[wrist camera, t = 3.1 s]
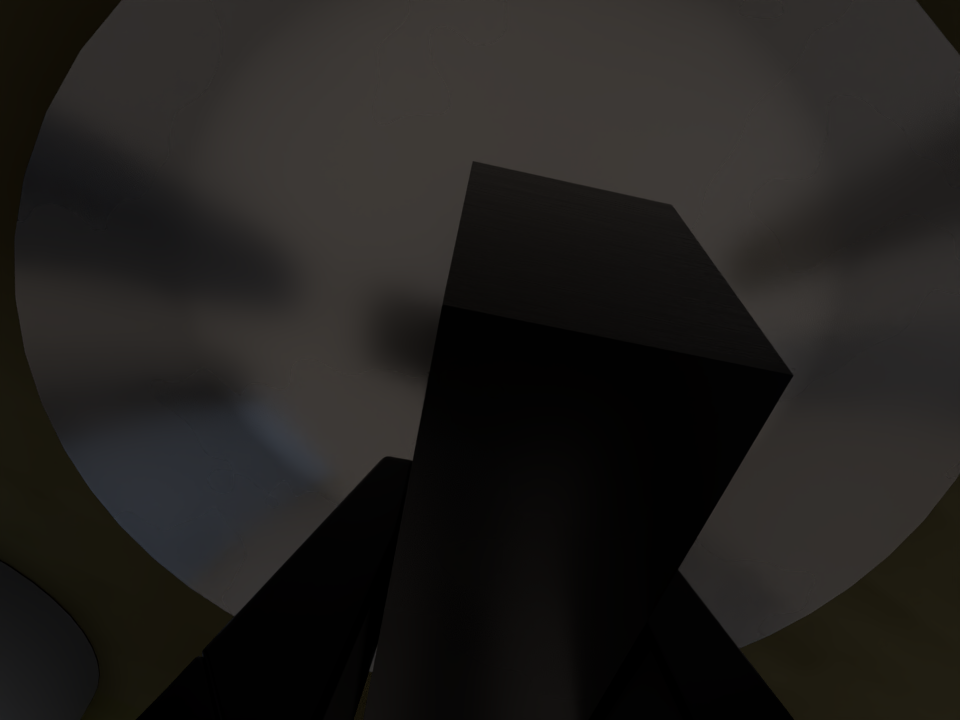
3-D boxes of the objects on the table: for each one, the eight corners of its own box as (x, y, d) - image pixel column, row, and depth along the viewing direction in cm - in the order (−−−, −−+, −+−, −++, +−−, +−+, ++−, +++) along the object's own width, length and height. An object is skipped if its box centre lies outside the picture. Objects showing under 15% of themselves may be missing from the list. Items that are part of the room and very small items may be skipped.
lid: (721, 679, 14) (804, 953, 10) (126, 583, 13) (-41, 845, 9) (1228, 26, 7) (2255, 95, 3) (-40, -302, 6) (-1268, -929, 2)
